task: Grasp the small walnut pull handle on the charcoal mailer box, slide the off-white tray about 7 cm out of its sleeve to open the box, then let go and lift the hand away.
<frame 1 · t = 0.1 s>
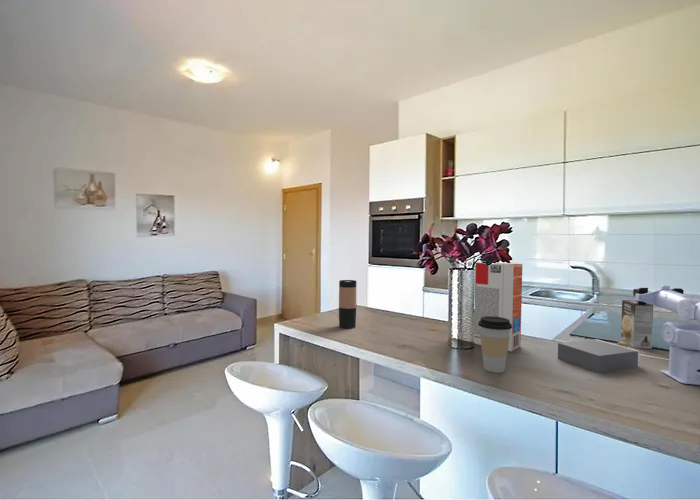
hand: (647, 292, 122), 22 cm above the worktop, tool horizontal, fingers open, 7 cm apart
travel mug: (347, 327, 161), on the worktop
pasta box: (484, 343, 139), on the worktop
mailer tray: (602, 352, 118), point 3 cm above the worktop, slide at 0.0 cm
coffee box: (635, 345, 138), on the worktop
coffee cup: (493, 370, 110), on the worktop
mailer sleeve: (596, 362, 117), on the worktop
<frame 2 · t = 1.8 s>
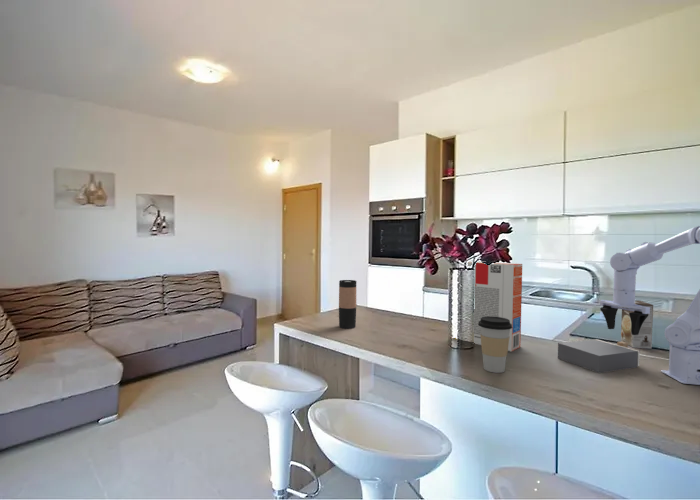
hand: (622, 331, 120), 9 cm above the worktop, tool pointing down, fingers open, 7 cm apart
nothing on the worktop moved.
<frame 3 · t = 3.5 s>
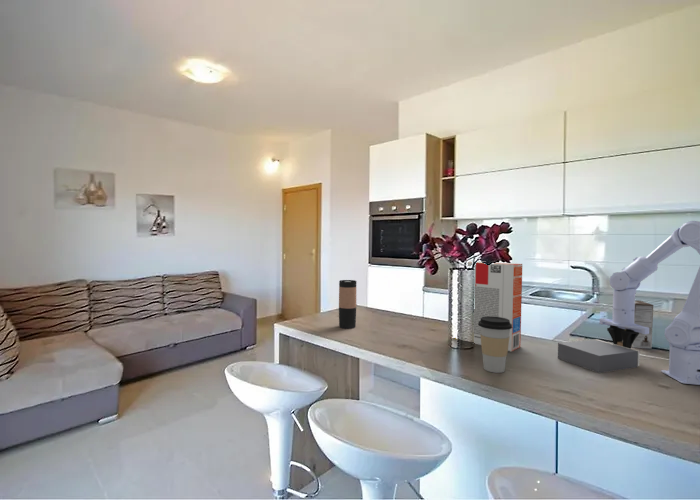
hand: (622, 350, 120), 3 cm above the worktop, tool pointing down, fingers closed on mailer tray, 2 cm apart
mailer tray: (602, 352, 118), point 3 cm above the worktop, slide at 0.0 cm, touching gripper
everything else where it was.
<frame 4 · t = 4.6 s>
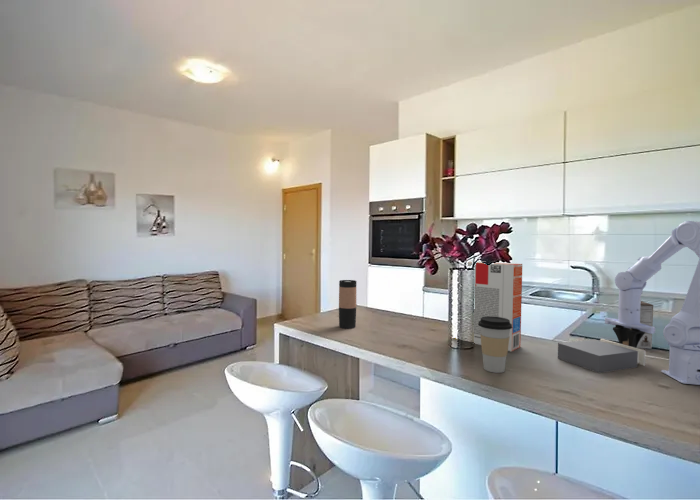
hand: (627, 350, 121), 3 cm above the worktop, tool pointing down, fingers closed on mailer tray, 2 cm apart
mailer tray: (608, 352, 118), point 3 cm above the worktop, slide at 2.6 cm, touching gripper
everything else where it was.
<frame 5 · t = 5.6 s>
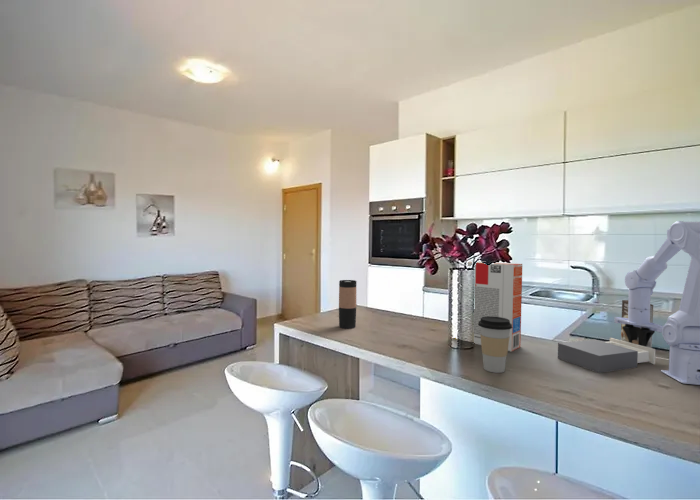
hand: (637, 349, 123), 3 cm above the worktop, tool pointing down, fingers closed on mailer tray, 2 cm apart
mailer tray: (618, 350, 120), point 3 cm above the worktop, slide at 7.1 cm, touching gripper
everything else where it was.
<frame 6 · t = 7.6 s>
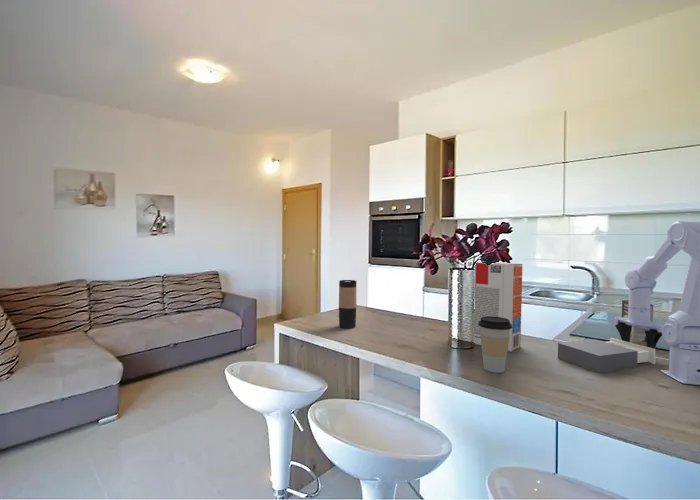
hand: (637, 348, 123), 3 cm above the worktop, tool pointing down, fingers open, 7 cm apart
mailer tray: (618, 350, 120), point 3 cm above the worktop, slide at 7.1 cm
everything else where it was.
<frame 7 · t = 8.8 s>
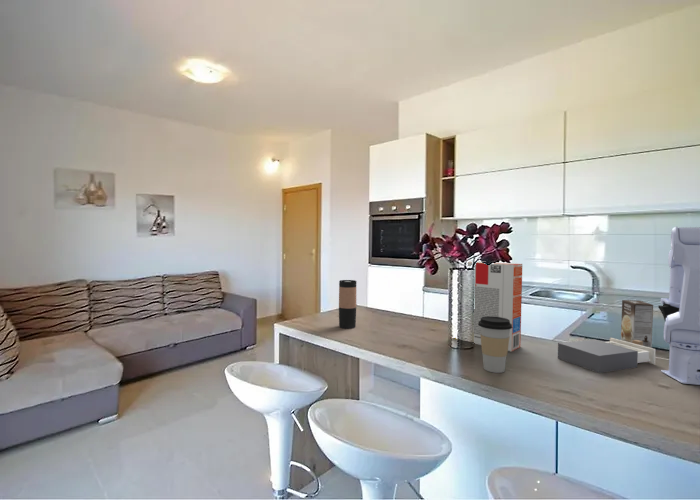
hand: (679, 331, 116), 10 cm above the worktop, tool pointing down, fingers open, 7 cm apart
nothing on the worktop moved.
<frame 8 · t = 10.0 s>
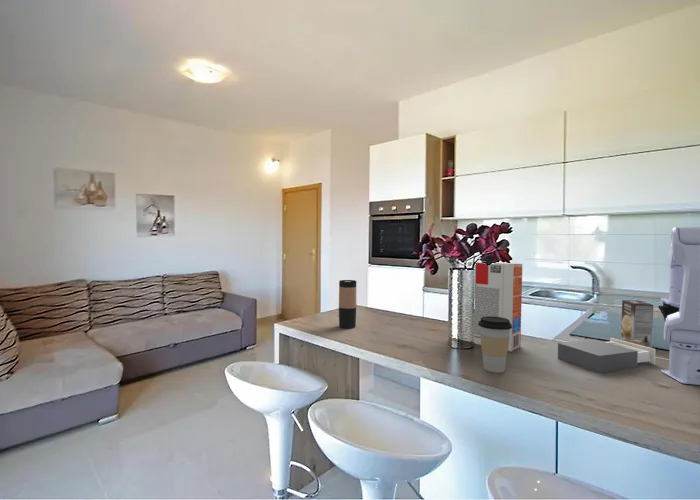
hand: (679, 331, 116), 10 cm above the worktop, tool pointing down, fingers open, 7 cm apart
nothing on the worktop moved.
at the end: mailer tray slide at 7.1 cm; the gripper is holding nothing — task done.
